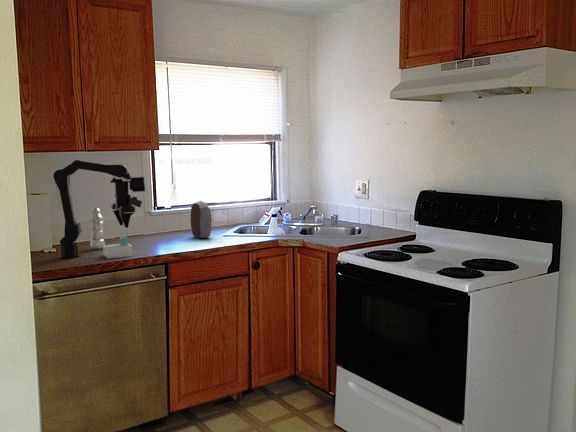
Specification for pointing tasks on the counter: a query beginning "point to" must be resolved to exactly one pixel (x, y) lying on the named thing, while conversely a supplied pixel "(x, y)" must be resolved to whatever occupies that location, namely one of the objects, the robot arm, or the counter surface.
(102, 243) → the plastic bottle
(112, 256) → the tub
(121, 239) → the lid
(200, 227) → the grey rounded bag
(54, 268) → the counter surface
